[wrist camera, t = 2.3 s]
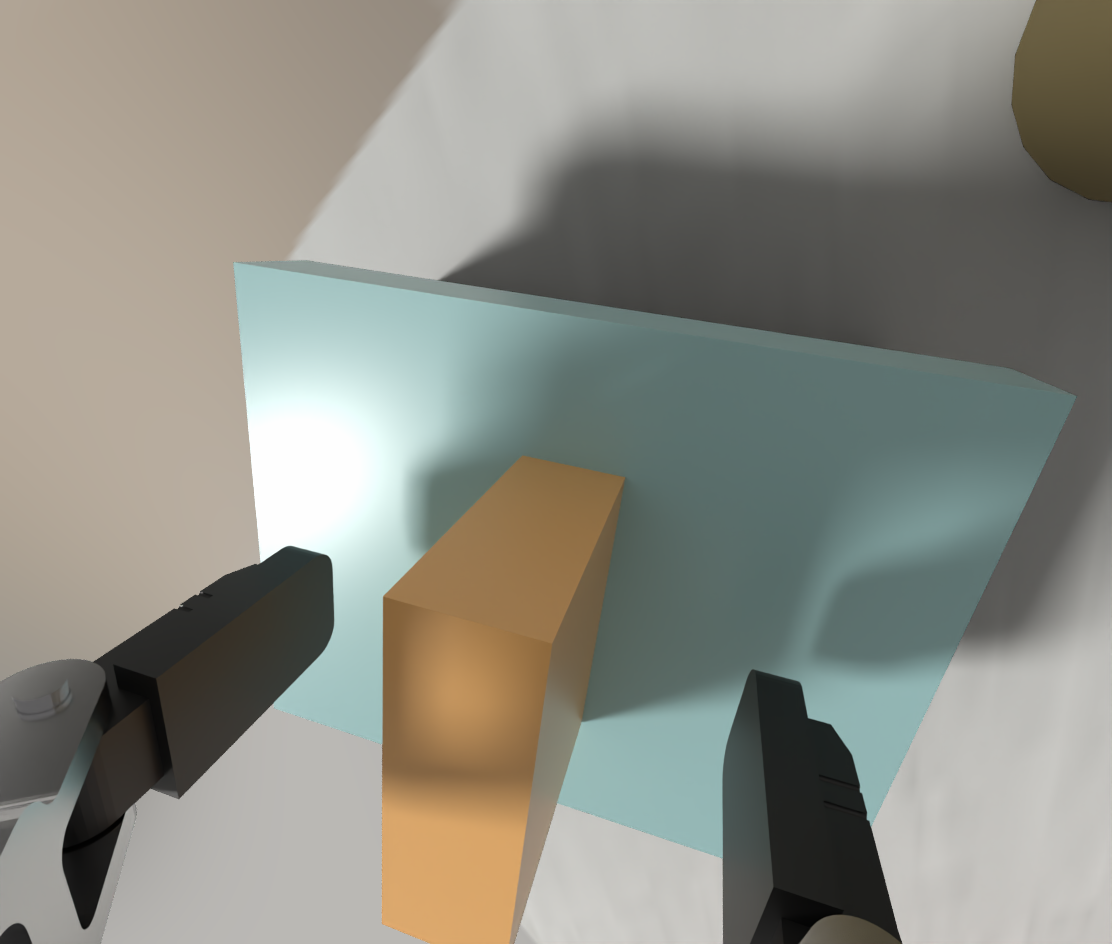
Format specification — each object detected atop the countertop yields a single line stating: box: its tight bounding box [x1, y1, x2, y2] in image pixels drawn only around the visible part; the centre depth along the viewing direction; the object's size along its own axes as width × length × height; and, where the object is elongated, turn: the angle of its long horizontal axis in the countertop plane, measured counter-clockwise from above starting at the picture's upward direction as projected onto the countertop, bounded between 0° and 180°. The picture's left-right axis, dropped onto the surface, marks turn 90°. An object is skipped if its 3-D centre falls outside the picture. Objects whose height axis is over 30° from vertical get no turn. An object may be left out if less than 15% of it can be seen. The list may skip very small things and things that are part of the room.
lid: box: [234, 260, 1077, 944], centre depth 11 cm, size 14×11×7 cm
